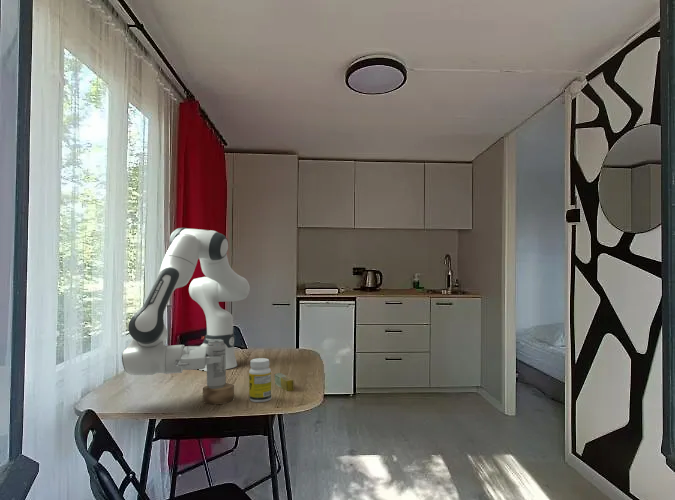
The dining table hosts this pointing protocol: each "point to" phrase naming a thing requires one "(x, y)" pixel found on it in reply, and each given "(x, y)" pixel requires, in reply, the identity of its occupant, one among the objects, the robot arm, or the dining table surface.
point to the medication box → (284, 382)
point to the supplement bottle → (260, 380)
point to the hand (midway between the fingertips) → (221, 356)
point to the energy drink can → (216, 365)
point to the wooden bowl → (218, 394)
